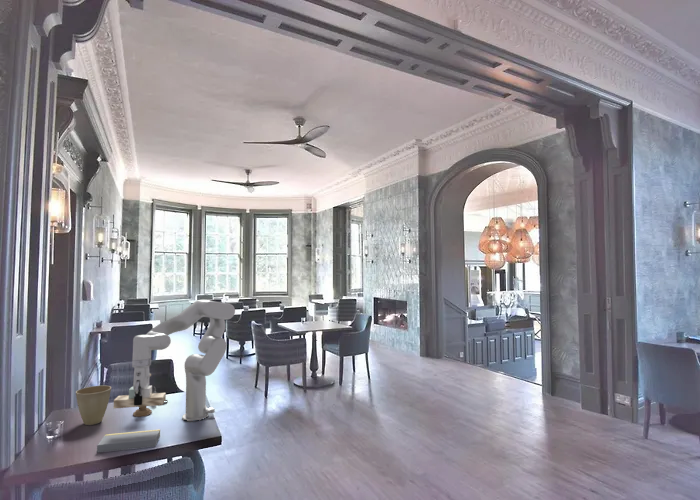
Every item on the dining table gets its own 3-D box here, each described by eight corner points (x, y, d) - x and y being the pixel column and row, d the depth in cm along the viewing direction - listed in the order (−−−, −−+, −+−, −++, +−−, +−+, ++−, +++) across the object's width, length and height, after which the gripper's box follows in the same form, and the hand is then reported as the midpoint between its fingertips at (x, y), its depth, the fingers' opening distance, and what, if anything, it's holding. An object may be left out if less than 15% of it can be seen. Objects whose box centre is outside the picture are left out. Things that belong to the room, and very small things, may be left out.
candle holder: (155, 413, 214) (156, 373, 215) (139, 418, 207) (140, 377, 208) (145, 410, 219) (146, 371, 220) (129, 415, 212) (130, 375, 212)
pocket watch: (170, 402, 232) (170, 384, 233) (158, 406, 224) (159, 388, 225) (158, 400, 235) (159, 382, 235) (147, 405, 227) (147, 386, 227)
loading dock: (160, 436, 185) (160, 429, 185) (155, 446, 174) (155, 439, 174) (105, 441, 179) (105, 434, 179) (96, 452, 168) (97, 444, 168)
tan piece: (165, 400, 192) (165, 392, 192) (162, 405, 185) (162, 397, 185) (118, 403, 187) (118, 395, 187) (113, 408, 180) (113, 400, 180)
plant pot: (117, 418, 207) (118, 386, 207) (91, 429, 192) (92, 395, 193) (94, 415, 211) (94, 384, 211) (67, 426, 196) (68, 392, 197)
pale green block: (141, 394, 189) (141, 386, 189) (138, 398, 184) (138, 389, 184) (131, 395, 188) (131, 386, 188) (128, 398, 183) (128, 389, 183)
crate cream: (151, 394, 190) (152, 385, 190) (149, 397, 185) (149, 388, 185) (142, 394, 189) (142, 386, 189) (139, 398, 184) (140, 389, 184)
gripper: (146, 366, 180) (144, 407, 178) (154, 358, 196) (153, 396, 195) (127, 367, 178) (125, 409, 177) (137, 359, 194) (136, 397, 193)
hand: (140, 402), depth 186 cm, fingers closed on tan piece, 7 cm apart
